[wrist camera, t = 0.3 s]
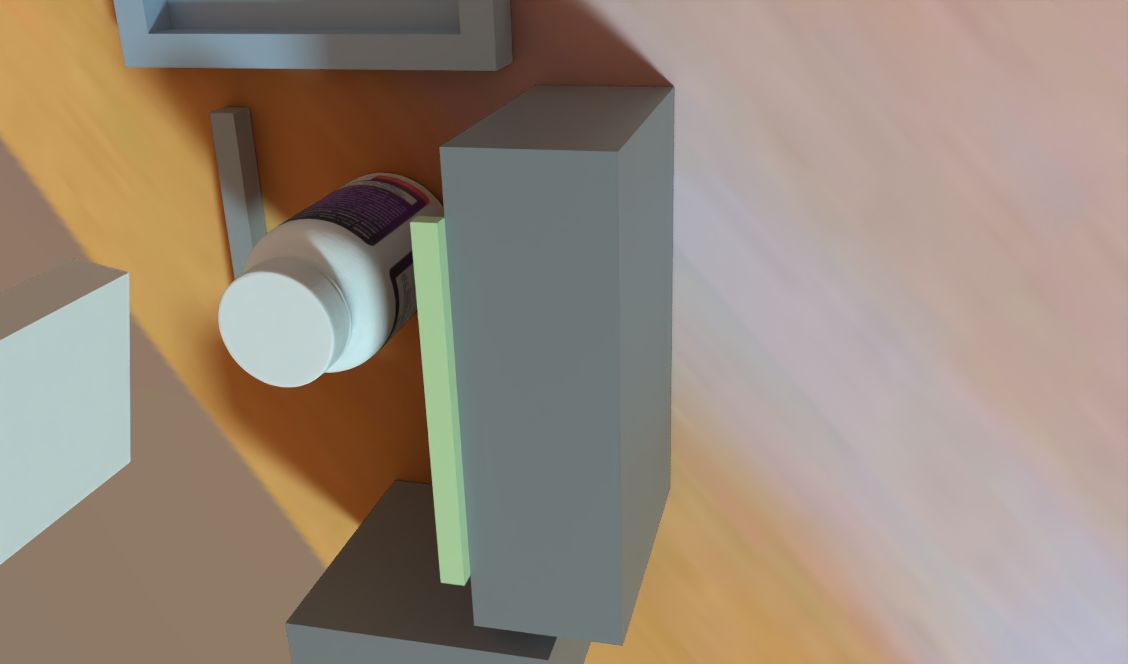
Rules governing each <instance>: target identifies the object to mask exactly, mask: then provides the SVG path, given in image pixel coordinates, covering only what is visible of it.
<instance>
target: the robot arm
mask: <svg viewBox="0 0 1128 664" xmlns="http://www.w3.org/2000/svg"><path fill="white" fill-rule="evenodd" d="M129 339H130V335H129V272H126V271H122V270H118V269H114V268H110V267H107V266H103V265H99V264H95V263H91V262H87V261H83V260H80V259H76V258H73V259H71V260H69V261H67V262H65V263H63V264H61V265H58V266H56V267H54V268H52V269H50V270H48V271H46V272H44V273H42V274H39V275H37V276H35V277H33V278H31V279H29V280H27V281H24V282H22V283H20V284H18V285H16V286H14V287H12V288H10V289H7V290H5V291H3V292H1V293H0V564H1V563H3V562H4V561H5V560H7V559H8V558H9V557H10V556H12V555H13V554H14V553H15V552H17V551H18V550H19V549H20V548H22V547H23V546H24V545H26V544H27V543H28V542H29V541H31V540H32V539H33V538H34V537H35V536H37V535H38V534H39V533H41V532H42V531H43V530H44V529H45V528H47V527H48V526H49V525H51V524H52V523H53V522H54V521H56V520H57V519H58V518H60V517H61V516H62V515H63V514H65V513H66V512H67V511H68V510H70V509H71V508H72V507H74V506H75V505H76V504H77V503H79V502H80V501H81V500H82V499H84V498H85V497H86V496H87V495H89V494H90V493H91V492H93V491H94V490H95V489H96V488H98V487H99V486H100V485H101V484H103V483H104V482H105V481H106V480H108V479H109V478H110V477H112V476H113V475H114V474H115V473H116V472H118V471H119V470H120V469H122V468H123V467H124V466H126V465H127V464H128V463H129V462H130V343H129V342H130V341H129Z"/></svg>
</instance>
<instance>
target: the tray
mask: <svg viewBox="0 0 1128 664" xmlns="http://www.w3.org/2000/svg"><path fill="white" fill-rule="evenodd" d="M113 2H114V7H115V13H116V18H117V24H118V29H119V35H120V41H121V46H122V52H123V57H124V63H125V67H161V68H260V69H359V70H458V71H497V70H499V69H501V68H503V67H505V66H506V65H508V64H510V63H512V62H513V53H512V31H511V8H510V0H113Z"/></svg>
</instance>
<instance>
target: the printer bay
mask: <svg viewBox="0 0 1128 664" xmlns="http://www.w3.org/2000/svg"><path fill="white" fill-rule="evenodd" d="M209 114H210V121H211V127H212V134H213V140H214V147H215V154H216V160H217V167H218V173H219V180H220V186H221V193H222V199H223V206H224V212H225V219H226V225H227V232H228V239H229V245H230V252H231V258H232V265H233V271H234V278H235V279H236V278H237V277H239V276H240V275H242V274H243V271H244V267H245V264H246V261H247V259H248V256H249V254H250V252H251V251H252V249H253V248H254V247H255V245H256V244H257V243H258V242H259V241H260V239H261V238H262V237H264V236H265V235H266V234H267V233H266V226H265V219H264V211H263V204H262V197H261V190H260V183H259V175H258V168H257V161H256V154H255V146H254V139H253V132H252V125H251V118H250V110H249V107H224V108H222V109H219V110H216V111H213V112H211V113H209ZM439 149H440V163H441V177H442V191H443V204H444V217H428V216H417V217H416V218H415V219H413V220H412V221H411V222H410V228H411V240H412V252H413V263H414V275H415V287H416V299H417V310H418V322H419V334H420V345H421V357H422V369H423V380H424V392H425V404H426V415H427V427H428V439H429V451H430V462H431V474H432V484H423V483H414V482H404V481H395V480H394V482H393V483H392V484H391V486H390V487H389V488H388V490H387V491H386V492H385V493H384V495H383V496H382V497H381V499H380V500H379V501H378V503H377V504H376V505H375V507H374V508H373V509H372V510H371V512H370V513H369V514H368V516H367V517H366V518H365V520H364V521H363V522H362V524H361V525H360V526H359V527H358V529H357V530H356V531H355V533H354V534H353V535H352V537H351V538H350V539H349V541H348V542H347V543H346V544H345V546H344V547H343V548H342V550H341V551H340V552H339V554H338V555H337V556H336V558H335V559H334V560H333V562H332V563H331V564H330V565H329V567H328V568H327V569H326V571H325V572H324V573H323V575H322V576H321V577H320V579H319V580H318V581H317V582H316V584H315V585H314V586H313V588H312V589H311V590H310V592H309V593H308V594H307V596H306V597H305V598H304V599H303V601H302V602H301V603H300V605H299V606H298V607H297V609H296V610H295V611H294V613H293V614H292V615H291V617H290V618H289V619H288V620H287V622H286V623H285V624H286V630H287V637H288V642H289V650H290V656H291V662H292V664H583V663H584V661H585V658H586V655H587V652H588V649H589V646H590V643H591V642H599V643H606V644H613V645H621V646H623V643H624V640H625V636H626V633H627V630H628V627H629V623H630V620H631V617H632V613H633V610H634V607H635V603H636V600H637V597H638V593H639V590H640V587H641V583H642V580H643V577H644V573H645V570H646V567H647V563H648V560H649V557H650V553H651V550H652V547H653V543H654V540H655V537H656V533H657V530H658V527H659V523H660V520H661V517H662V513H663V510H664V507H665V503H666V500H667V497H668V493H669V490H670V452H671V359H672V266H673V174H674V87H648V86H572V85H535V86H533V87H532V88H530V89H528V90H527V91H525V92H524V93H522V94H521V95H519V96H518V97H516V98H514V99H513V100H511V101H510V102H508V103H507V104H505V105H504V106H502V107H500V108H499V109H497V110H496V111H494V112H493V113H491V114H490V115H488V116H487V117H485V118H483V119H482V120H480V121H479V122H477V123H476V124H474V125H473V126H471V127H469V128H468V129H466V130H465V131H463V132H462V133H460V134H459V135H457V136H455V137H454V138H452V139H451V140H449V141H448V142H446V143H445V144H443V145H441V146H440V147H439Z"/></svg>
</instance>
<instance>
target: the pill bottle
mask: <svg viewBox="0 0 1128 664" xmlns="http://www.w3.org/2000/svg"><path fill="white" fill-rule="evenodd" d="M417 216H428V217H444V208H443V206H442V205H441V204H440V202H439V201H438V200H437V199H436V198H435V196H433V195H432V194H431V193H430V192H429V191H428V190H427V189H426V188H424V187H423V186H422V185H420V184H419V183H417V182H415V181H413V180H411V179H409V178H406V177H404V176H401V175H397V174H391V173H373V174H368V175H364V176H361V177H359V178H357V179H355V180H352V181H351V182H349V183H347V184H345V185H343V186H342V187H340V188H338V189H337V190H335V191H334V192H332V193H331V194H329V195H327V196H326V197H324V198H323V199H321V200H319V201H318V202H316V203H315V204H313V205H311V206H310V207H308V208H306V209H304V210H303V211H301V212H300V213H298V214H297V215H295V216H293V217H292V218H290V219H288V220H287V221H285V222H283V223H282V224H280V225H279V226H277V227H276V228H274V229H273V230H271V231H270V232H269V233H267V234H266V235H265V236H264V237H262V238H261V239H260V241H259V242H258V243H257V244H256V245H255V247H254V248H253V249H252V251H251V252H250V254H249V256H248V259H247V261H246V264H245V267H244V271H243V274H242V275H240V276H239V277H237V278H236V279H235V280H234V281H233V282H231V284H230V285H229V286H228V287H227V288H226V290H225V292H224V293H223V295H222V298H221V301H220V304H219V309H218V324H219V329H220V333H221V336H222V339H223V342H224V344H225V346H226V347H227V349H228V351H229V353H230V354H231V356H232V357H233V359H234V360H235V361H236V362H237V363H238V364H239V366H241V367H242V368H243V369H244V370H245V371H246V372H248V373H249V374H250V375H252V376H253V377H255V378H257V379H259V380H261V381H263V382H265V383H267V384H270V385H274V386H279V387H298V386H302V385H305V384H308V383H310V382H312V381H314V380H315V379H317V378H318V377H319V376H321V375H322V374H323V373H324V372H327V373H331V372H340V371H345V370H348V369H351V368H354V367H356V366H358V365H360V364H362V363H364V362H365V361H367V360H368V359H369V358H371V357H372V356H373V355H374V354H375V353H376V352H377V351H379V350H380V349H381V348H382V347H383V346H384V345H385V344H386V343H387V342H388V341H389V340H390V339H391V338H392V337H393V336H394V335H395V333H396V332H397V331H398V330H399V329H400V328H401V327H402V326H403V325H405V324H406V323H407V321H408V320H409V319H410V318H411V317H412V316H413V315H414V314H415V313H416V312H417V311H418V310H417V299H416V287H415V275H414V263H413V252H412V240H411V228H410V222H411V221H412V220H413V219H415V218H416V217H417Z"/></svg>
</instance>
